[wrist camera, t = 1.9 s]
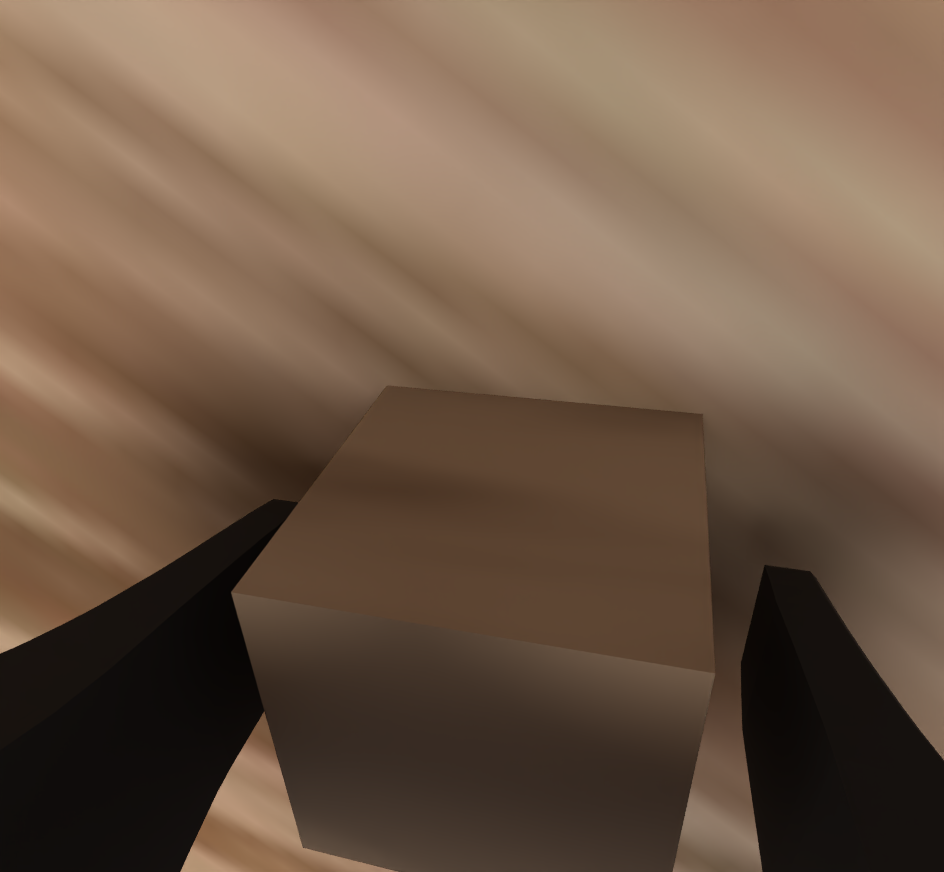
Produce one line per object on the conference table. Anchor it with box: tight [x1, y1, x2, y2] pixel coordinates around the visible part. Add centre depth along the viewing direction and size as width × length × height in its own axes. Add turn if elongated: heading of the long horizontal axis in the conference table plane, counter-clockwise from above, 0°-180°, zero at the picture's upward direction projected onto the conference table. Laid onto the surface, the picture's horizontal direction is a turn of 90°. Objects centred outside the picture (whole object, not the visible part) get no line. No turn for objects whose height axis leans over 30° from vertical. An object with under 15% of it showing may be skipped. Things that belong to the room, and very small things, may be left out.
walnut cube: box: [231, 386, 715, 872], centre depth 10 cm, size 5×5×5 cm
